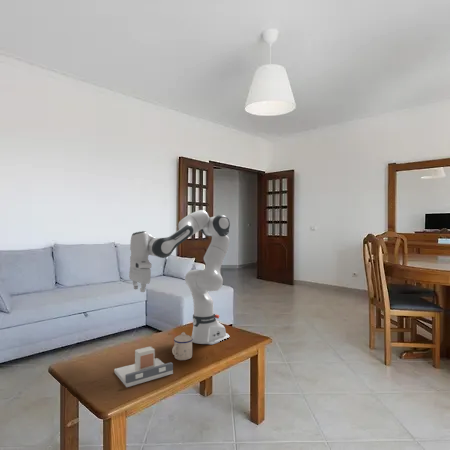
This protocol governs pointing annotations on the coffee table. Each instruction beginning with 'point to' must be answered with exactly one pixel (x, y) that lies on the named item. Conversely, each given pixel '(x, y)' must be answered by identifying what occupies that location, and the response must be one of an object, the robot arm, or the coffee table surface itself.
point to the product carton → (144, 358)
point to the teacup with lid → (182, 347)
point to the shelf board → (143, 373)
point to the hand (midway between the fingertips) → (139, 290)
